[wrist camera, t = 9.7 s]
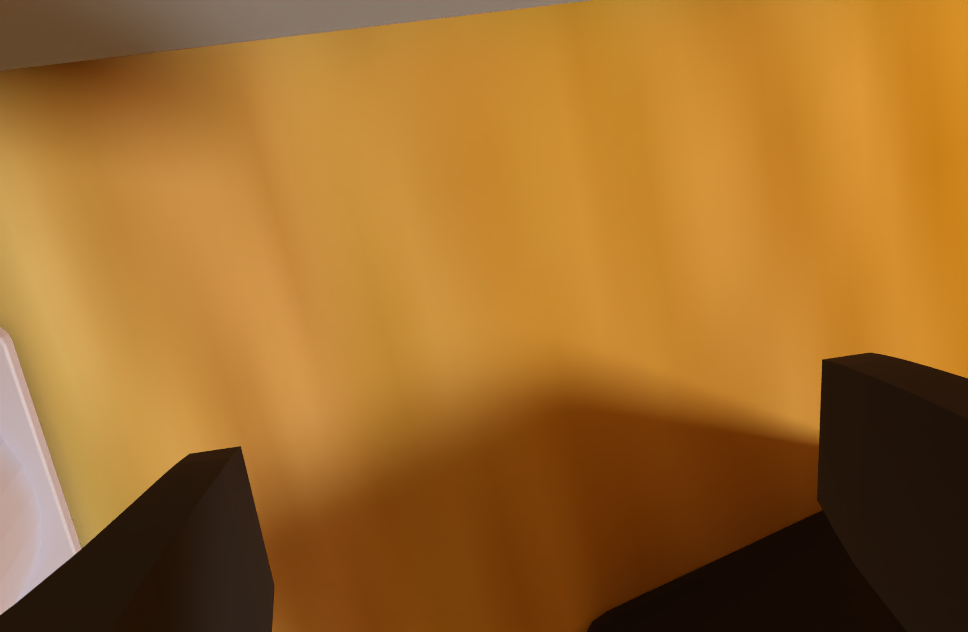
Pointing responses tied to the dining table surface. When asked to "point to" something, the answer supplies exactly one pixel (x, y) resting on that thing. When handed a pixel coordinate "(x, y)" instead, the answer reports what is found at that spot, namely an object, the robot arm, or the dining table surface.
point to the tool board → (197, 23)
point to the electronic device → (764, 591)
